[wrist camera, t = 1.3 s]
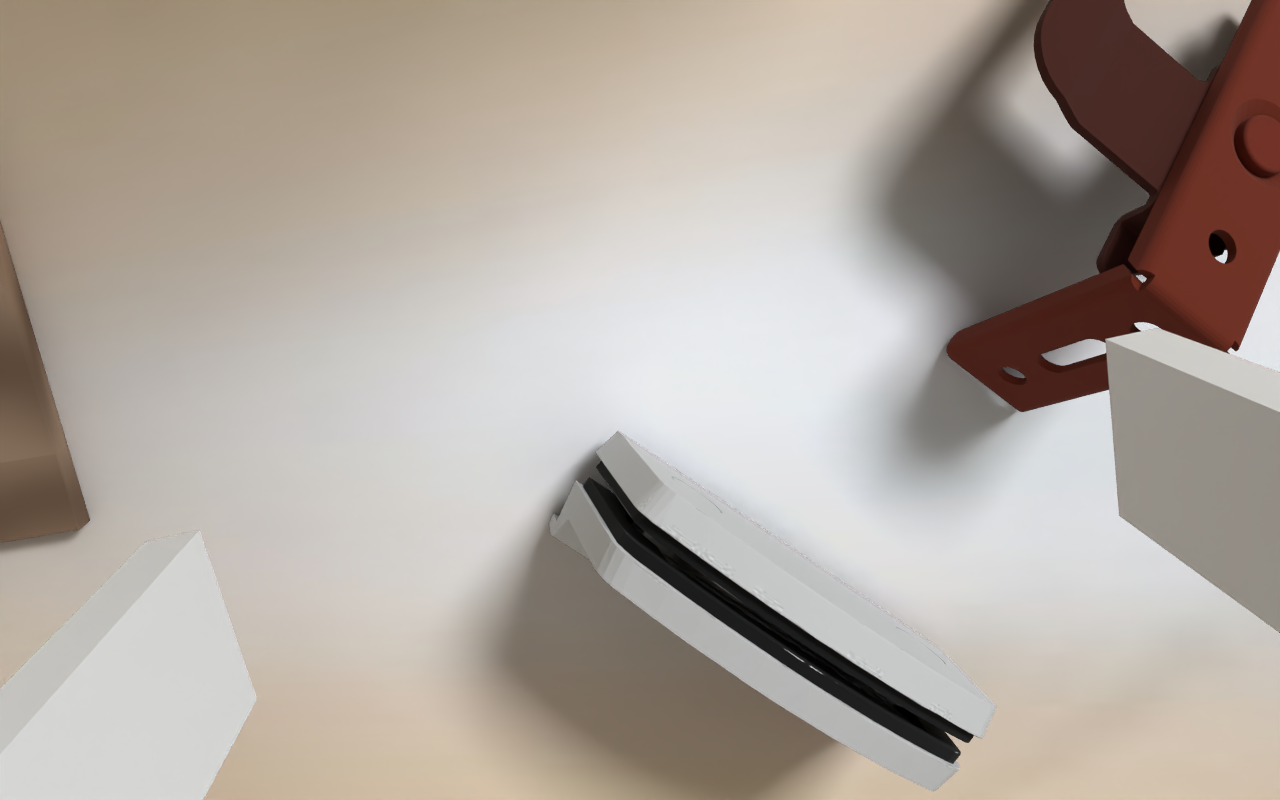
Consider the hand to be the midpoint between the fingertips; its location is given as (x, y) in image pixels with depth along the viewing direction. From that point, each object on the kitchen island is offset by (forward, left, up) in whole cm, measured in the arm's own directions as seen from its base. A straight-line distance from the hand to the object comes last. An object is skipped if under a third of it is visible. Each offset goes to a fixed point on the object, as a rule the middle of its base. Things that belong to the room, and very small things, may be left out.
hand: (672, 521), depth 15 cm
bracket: (0, +16, -28) cm, 33 cm away
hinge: (+13, +4, -26) cm, 29 cm away
